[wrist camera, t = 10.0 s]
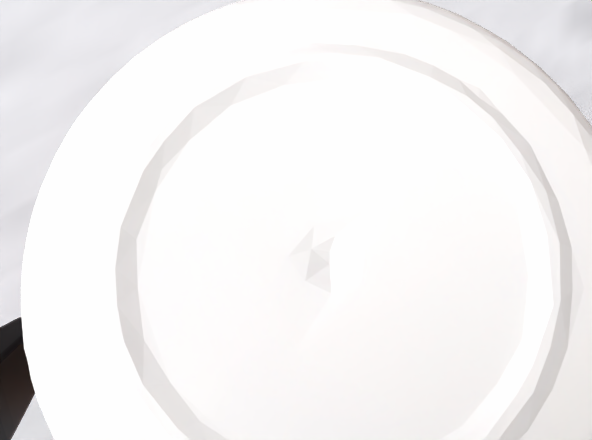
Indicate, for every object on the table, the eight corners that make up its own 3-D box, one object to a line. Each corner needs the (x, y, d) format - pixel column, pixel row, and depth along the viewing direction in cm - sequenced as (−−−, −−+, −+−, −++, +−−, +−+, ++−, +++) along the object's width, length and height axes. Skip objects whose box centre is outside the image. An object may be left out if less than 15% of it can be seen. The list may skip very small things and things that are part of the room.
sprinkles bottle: (219, 288, 17) (-115, 155, 4) (333, 218, 17) (419, -138, 4) (290, 410, 16) (201, 839, 3) (408, 334, 16) (842, 376, 3)
